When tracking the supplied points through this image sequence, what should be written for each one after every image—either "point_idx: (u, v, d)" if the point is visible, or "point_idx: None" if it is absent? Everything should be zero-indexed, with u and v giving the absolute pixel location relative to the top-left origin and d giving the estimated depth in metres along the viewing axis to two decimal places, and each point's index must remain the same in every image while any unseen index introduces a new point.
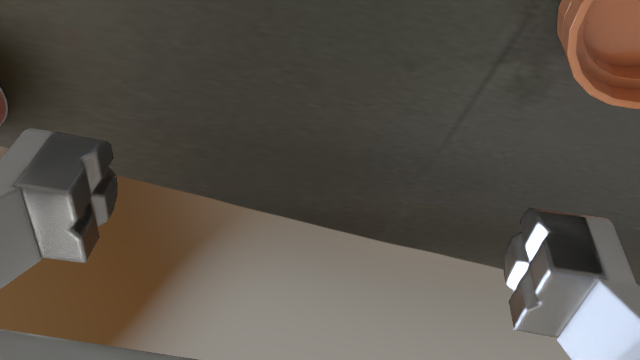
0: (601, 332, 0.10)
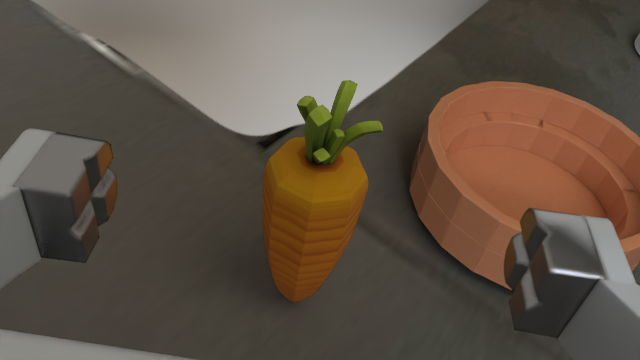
0: (601, 332, 0.10)
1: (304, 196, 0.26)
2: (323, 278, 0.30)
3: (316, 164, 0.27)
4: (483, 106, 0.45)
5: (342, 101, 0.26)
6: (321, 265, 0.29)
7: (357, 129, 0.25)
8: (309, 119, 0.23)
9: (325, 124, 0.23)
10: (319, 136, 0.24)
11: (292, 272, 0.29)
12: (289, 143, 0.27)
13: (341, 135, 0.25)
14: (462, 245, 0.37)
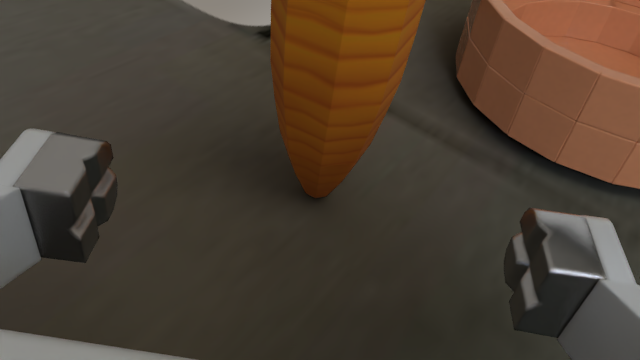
0: (601, 332, 0.10)
1: None
2: (363, 140, 0.21)
3: None
4: None
5: None
6: (362, 109, 0.19)
7: None
8: None
9: None
10: None
11: (317, 125, 0.20)
12: None
13: None
14: (540, 125, 0.27)
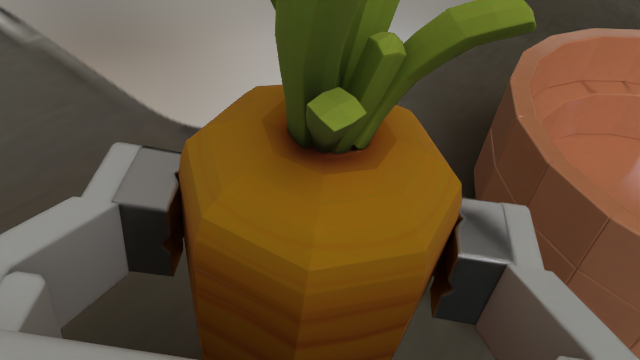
0: (510, 318, 0.10)
1: (284, 249, 0.08)
2: None
3: (318, 151, 0.09)
4: (581, 70, 0.28)
5: None
6: None
7: (449, 29, 0.08)
8: None
9: None
10: (327, 45, 0.07)
11: None
12: (242, 99, 0.10)
13: (396, 50, 0.08)
14: (599, 312, 0.19)
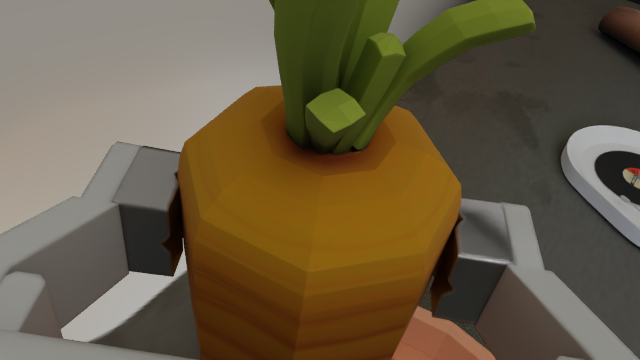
0: (510, 318, 0.10)
1: (282, 249, 0.08)
2: None
3: (316, 153, 0.09)
4: None
5: None
6: None
7: (448, 30, 0.08)
8: None
9: None
10: (326, 46, 0.07)
11: None
12: (241, 100, 0.10)
13: (396, 51, 0.08)
14: None
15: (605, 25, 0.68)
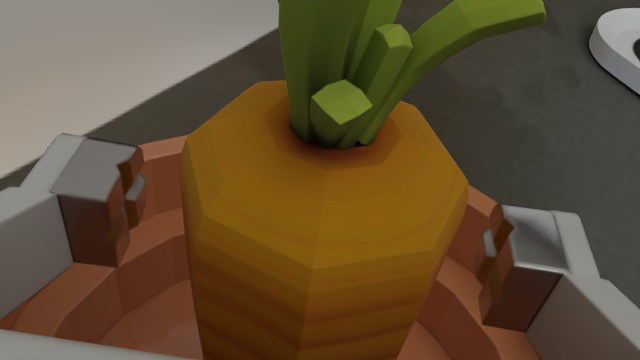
0: (566, 326, 0.10)
1: (286, 246, 0.08)
2: None
3: (321, 147, 0.09)
4: None
5: None
6: None
7: (456, 20, 0.08)
8: None
9: None
10: (332, 35, 0.07)
11: None
12: (244, 95, 0.10)
13: (403, 42, 0.08)
14: None
15: None
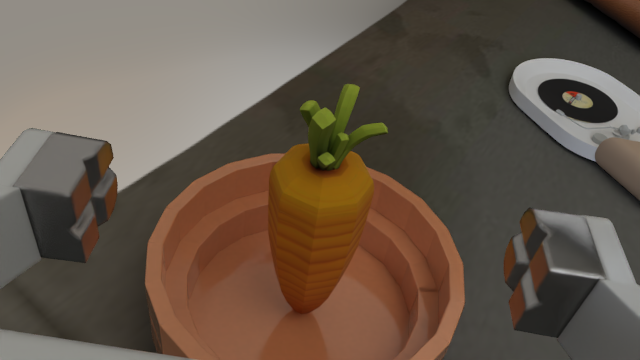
0: (601, 332, 0.10)
1: (310, 201, 0.25)
2: (332, 287, 0.30)
3: (321, 170, 0.26)
4: (265, 183, 0.37)
5: (345, 105, 0.26)
6: (329, 273, 0.29)
7: (362, 132, 0.25)
8: (313, 123, 0.23)
9: (329, 127, 0.23)
10: (323, 140, 0.24)
11: (300, 281, 0.29)
12: (293, 150, 0.27)
13: (345, 139, 0.25)
14: None
15: None
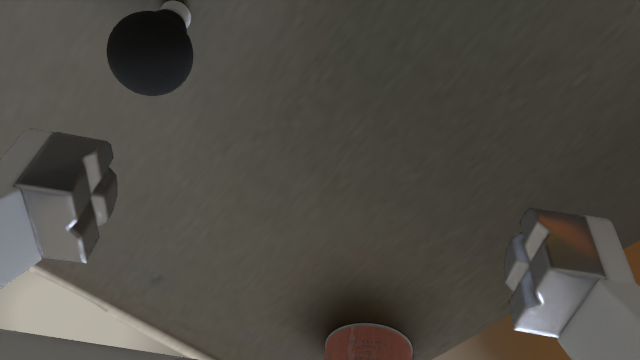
0: (601, 332, 0.10)
1: None
2: None
3: None
4: None
5: None
6: None
7: None
8: None
9: None
10: None
11: None
12: None
13: None
14: None
15: None
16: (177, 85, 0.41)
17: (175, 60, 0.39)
